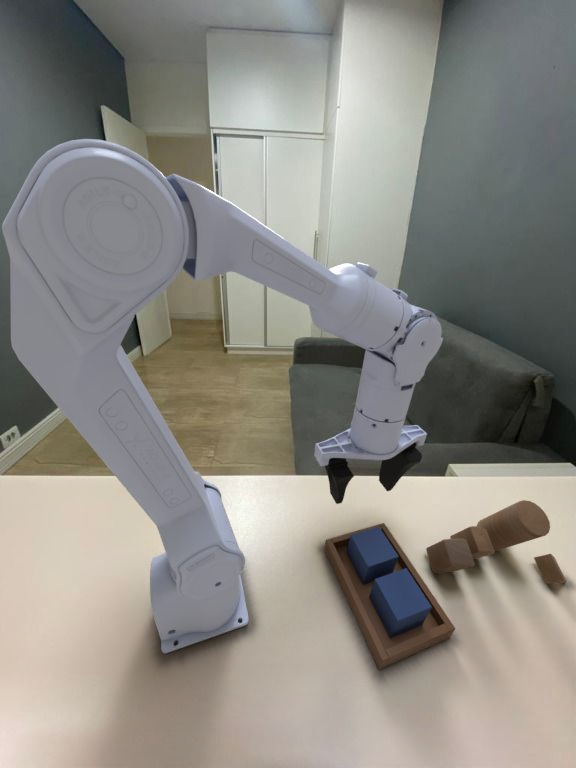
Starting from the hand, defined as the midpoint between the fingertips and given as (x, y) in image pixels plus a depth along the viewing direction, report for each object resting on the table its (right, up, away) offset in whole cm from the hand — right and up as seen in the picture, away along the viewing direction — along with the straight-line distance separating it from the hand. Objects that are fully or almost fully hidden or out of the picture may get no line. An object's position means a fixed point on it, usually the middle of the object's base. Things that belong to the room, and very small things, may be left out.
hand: (360, 491), depth 42 cm
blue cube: (+3, -13, -5) cm, 14 cm away
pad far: (+1, -10, 0) cm, 10 cm away
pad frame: (+2, -12, -2) cm, 12 cm away
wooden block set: (+18, -11, +2) cm, 21 cm away
